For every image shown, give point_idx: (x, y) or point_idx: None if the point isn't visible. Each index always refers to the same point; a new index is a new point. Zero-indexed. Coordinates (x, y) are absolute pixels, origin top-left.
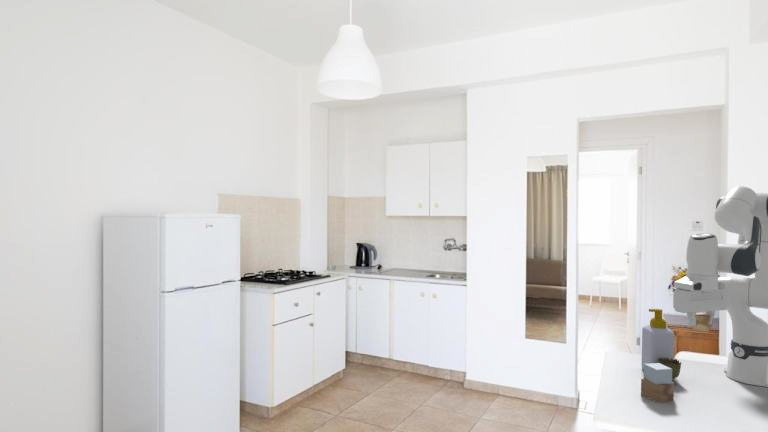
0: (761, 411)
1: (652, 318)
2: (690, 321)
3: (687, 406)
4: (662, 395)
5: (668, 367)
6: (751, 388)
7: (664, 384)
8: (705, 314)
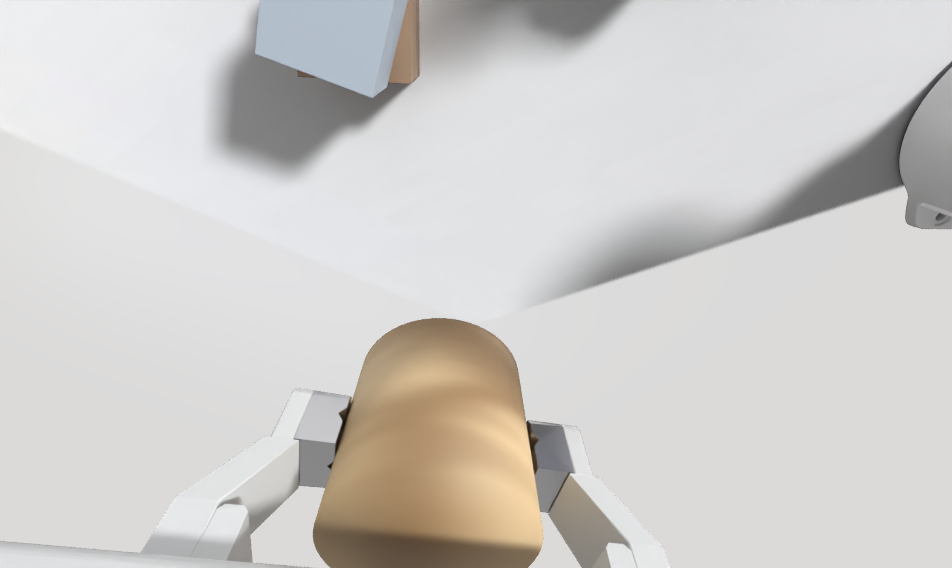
0: (593, 286)
1: None
2: (281, 424)
3: (404, 147)
4: None
5: (374, 68)
6: (845, 176)
7: None
8: (500, 555)
